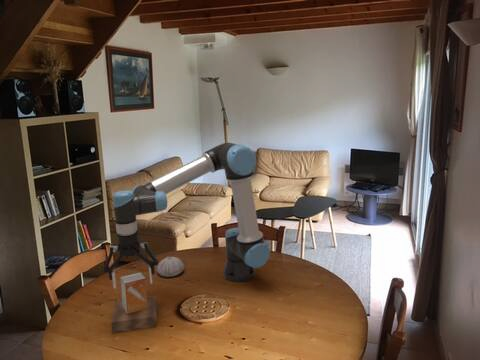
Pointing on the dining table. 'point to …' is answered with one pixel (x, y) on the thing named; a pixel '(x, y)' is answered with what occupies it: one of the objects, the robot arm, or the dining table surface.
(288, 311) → the dining table surface
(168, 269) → the sea urchin shell
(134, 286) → the small box
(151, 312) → the walnut block
